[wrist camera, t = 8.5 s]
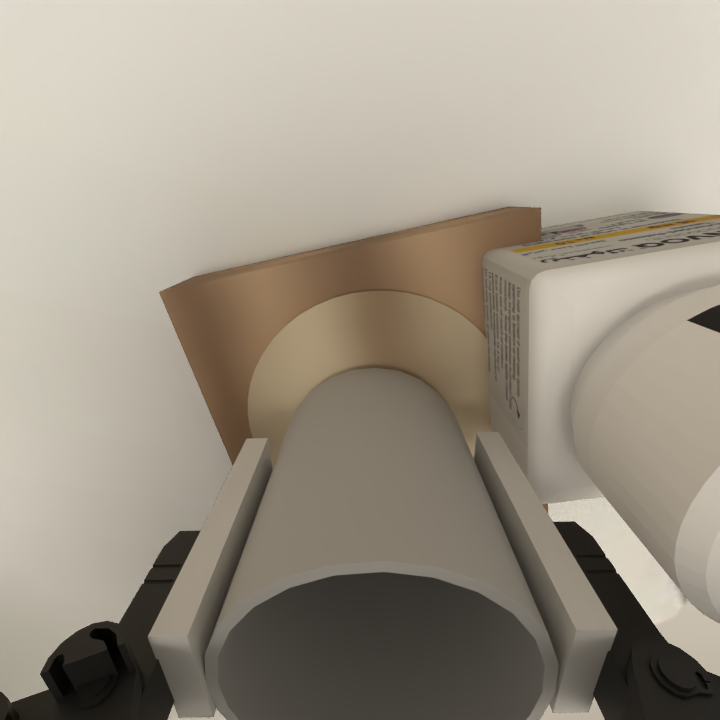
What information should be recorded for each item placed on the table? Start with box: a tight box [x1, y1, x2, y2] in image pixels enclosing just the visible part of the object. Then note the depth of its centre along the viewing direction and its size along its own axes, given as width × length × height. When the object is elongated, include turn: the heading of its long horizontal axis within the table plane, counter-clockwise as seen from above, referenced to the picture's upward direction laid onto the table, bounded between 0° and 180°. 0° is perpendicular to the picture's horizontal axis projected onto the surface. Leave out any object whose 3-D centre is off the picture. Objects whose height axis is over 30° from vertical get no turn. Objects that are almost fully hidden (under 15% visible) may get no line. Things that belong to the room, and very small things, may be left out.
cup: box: [205, 368, 559, 720], centre depth 12 cm, size 7×10×9 cm
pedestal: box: [159, 207, 548, 513], centre depth 17 cm, size 14×14×3 cm
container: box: [482, 211, 720, 623], centre depth 11 cm, size 8×8×13 cm
